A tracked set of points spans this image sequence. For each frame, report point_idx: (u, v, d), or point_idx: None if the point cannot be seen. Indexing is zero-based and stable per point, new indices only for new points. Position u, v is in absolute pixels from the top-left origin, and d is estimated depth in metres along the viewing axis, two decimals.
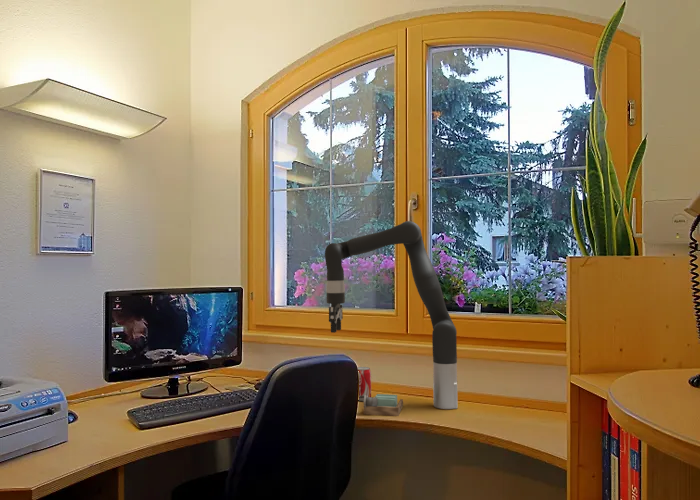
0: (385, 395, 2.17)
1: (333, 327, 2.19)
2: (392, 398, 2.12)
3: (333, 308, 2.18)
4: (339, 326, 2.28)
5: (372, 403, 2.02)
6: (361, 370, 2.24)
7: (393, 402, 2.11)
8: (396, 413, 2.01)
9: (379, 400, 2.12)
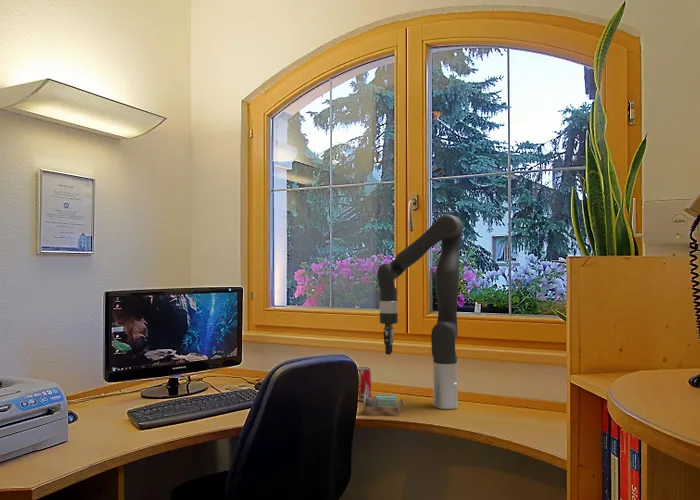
0: (385, 395, 2.17)
1: (388, 349, 2.23)
2: (392, 398, 2.12)
3: (388, 332, 2.19)
4: (390, 349, 2.27)
5: (372, 403, 2.02)
6: (361, 370, 2.24)
7: (393, 402, 2.11)
8: (396, 413, 2.01)
9: (379, 400, 2.12)
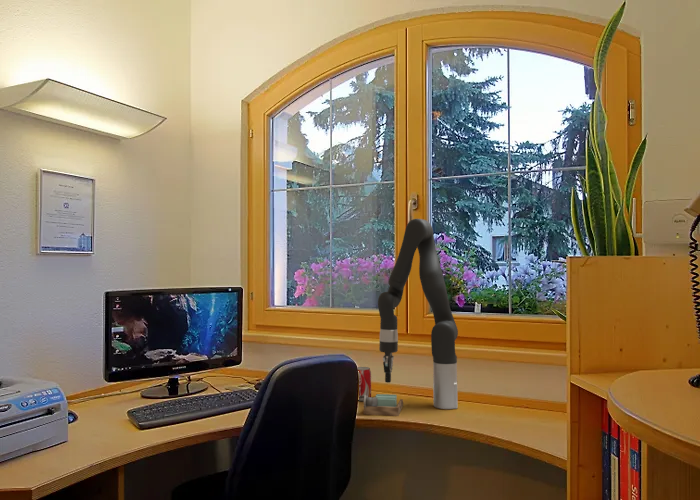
0: (385, 395, 2.17)
1: (388, 378, 2.24)
2: (392, 398, 2.12)
3: (387, 364, 2.20)
4: None
5: (372, 403, 2.02)
6: (361, 370, 2.24)
7: (394, 402, 2.11)
8: (396, 413, 2.01)
9: (380, 400, 2.12)
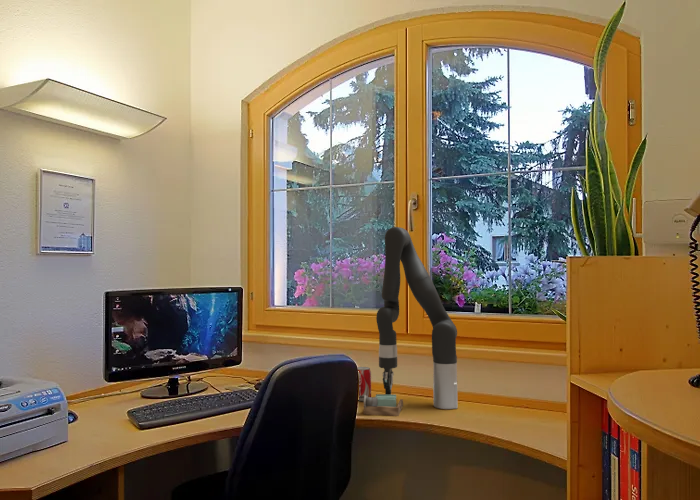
0: (385, 395, 2.17)
1: None
2: (393, 398, 2.12)
3: (387, 380, 2.16)
4: None
5: (372, 403, 2.02)
6: (361, 370, 2.24)
7: (394, 402, 2.11)
8: (396, 413, 2.01)
9: (380, 400, 2.12)
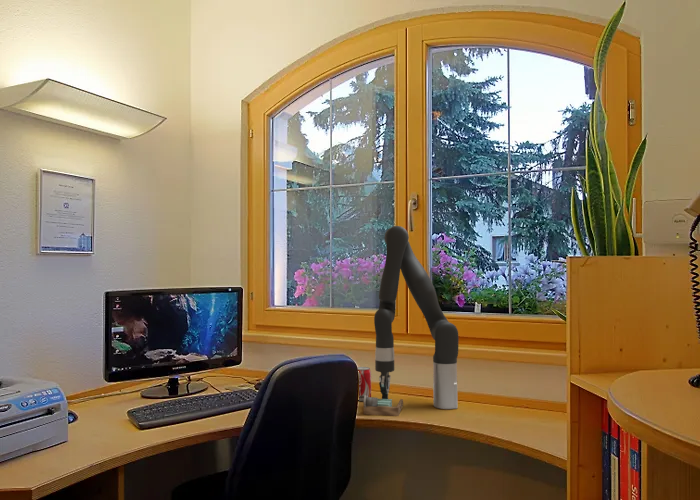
0: (379, 399, 2.10)
1: None
2: (386, 403, 2.05)
3: (384, 384, 2.08)
4: None
5: (372, 403, 2.02)
6: (361, 370, 2.24)
7: None
8: (396, 413, 2.01)
9: None
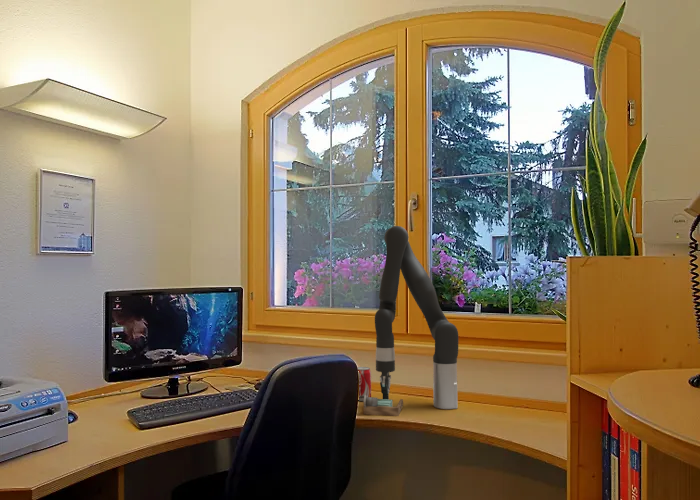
0: (380, 400, 2.10)
1: None
2: (386, 403, 2.05)
3: (385, 384, 2.08)
4: None
5: (372, 403, 2.02)
6: (361, 370, 2.24)
7: None
8: (396, 413, 2.01)
9: None
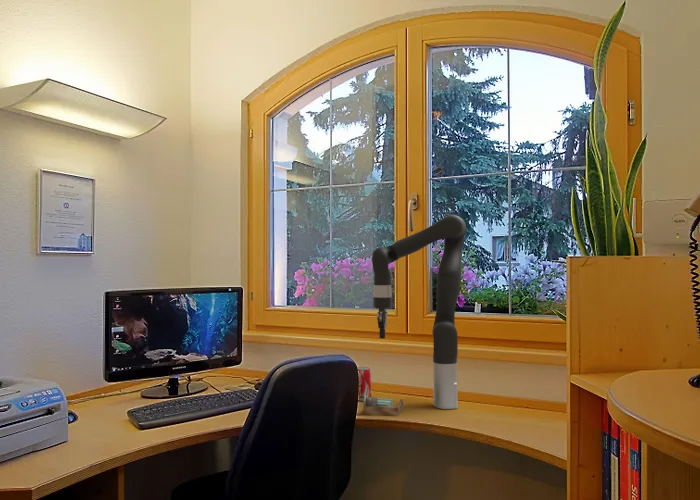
0: (380, 399, 2.10)
1: (382, 333, 2.24)
2: (386, 403, 2.05)
3: (382, 319, 2.20)
4: None
5: (372, 403, 2.02)
6: (361, 370, 2.24)
7: None
8: (396, 413, 2.01)
9: None
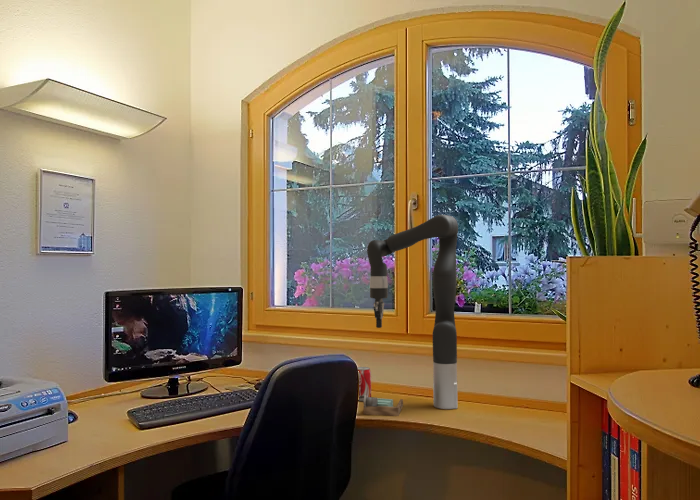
0: (380, 399, 2.10)
1: (379, 323, 2.31)
2: (386, 403, 2.05)
3: (378, 308, 2.27)
4: None
5: (372, 403, 2.02)
6: (361, 370, 2.24)
7: None
8: (396, 413, 2.01)
9: None
